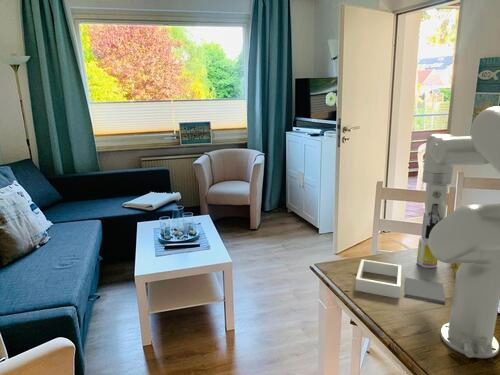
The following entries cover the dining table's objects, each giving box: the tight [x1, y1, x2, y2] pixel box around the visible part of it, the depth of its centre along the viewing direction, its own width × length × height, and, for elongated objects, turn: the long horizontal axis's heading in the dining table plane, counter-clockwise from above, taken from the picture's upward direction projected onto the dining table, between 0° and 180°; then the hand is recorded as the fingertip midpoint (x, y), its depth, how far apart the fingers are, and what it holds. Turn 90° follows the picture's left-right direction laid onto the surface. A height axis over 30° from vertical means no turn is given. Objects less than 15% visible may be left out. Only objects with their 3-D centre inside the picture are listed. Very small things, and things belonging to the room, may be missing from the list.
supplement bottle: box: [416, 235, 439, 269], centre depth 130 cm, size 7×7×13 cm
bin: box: [354, 259, 402, 299], centre depth 119 cm, size 15×13×4 cm
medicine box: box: [421, 212, 445, 247], centre depth 109 cm, size 8×4×9 cm, turn 170°
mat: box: [404, 277, 446, 304], centre depth 114 cm, size 11×11×1 cm
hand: (430, 233), depth 110 cm, fingers closed on medicine box, 8 cm apart
